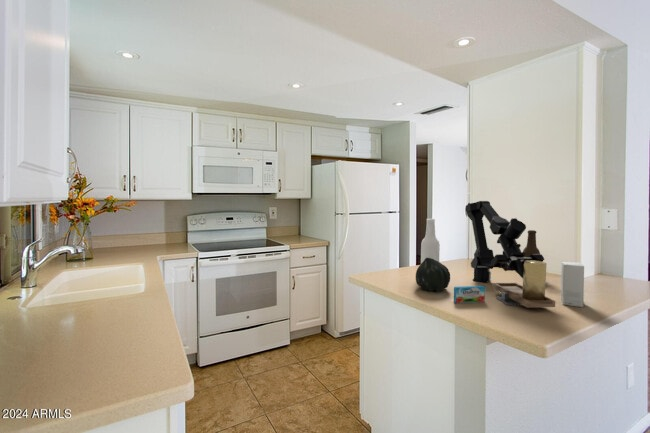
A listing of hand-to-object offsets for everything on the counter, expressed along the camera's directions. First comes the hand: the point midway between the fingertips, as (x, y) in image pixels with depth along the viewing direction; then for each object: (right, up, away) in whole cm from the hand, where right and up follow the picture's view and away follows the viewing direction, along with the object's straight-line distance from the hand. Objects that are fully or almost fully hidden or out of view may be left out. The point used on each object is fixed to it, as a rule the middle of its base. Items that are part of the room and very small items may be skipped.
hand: (525, 279), depth 124 cm
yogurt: (-20, -10, +4) cm, 23 cm away
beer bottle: (+26, -7, +38) cm, 46 cm away
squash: (-29, -9, +21) cm, 37 cm away
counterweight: (0, -7, -4) cm, 8 cm away
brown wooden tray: (0, -7, +3) cm, 7 cm away
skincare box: (+18, -10, +1) cm, 21 cm away
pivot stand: (0, -9, +3) cm, 10 cm away
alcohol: (-24, -7, +39) cm, 47 cm away
